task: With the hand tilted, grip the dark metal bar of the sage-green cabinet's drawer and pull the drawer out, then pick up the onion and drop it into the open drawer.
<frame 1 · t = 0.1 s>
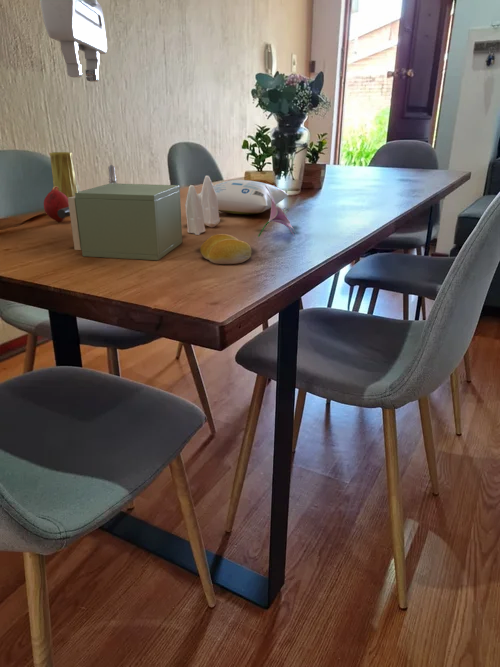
hand: (84, 79, 83), 28 cm above the table, tool pointing down, fingers open, 8 cm apart
onion: (59, 223, 117), on the table
lily: (278, 237, 104), on the table
screw: (116, 226, 115), on the table
shaker set: (204, 230, 111), on the table
cabinet: (135, 249, 94), on the table
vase: (68, 212, 131), on the table
bread roll: (225, 259, 88), on the table
pouch: (242, 213, 131), on the table
drawer: (109, 218, 92), point 5 cm above the table, slide at 0.5 cm
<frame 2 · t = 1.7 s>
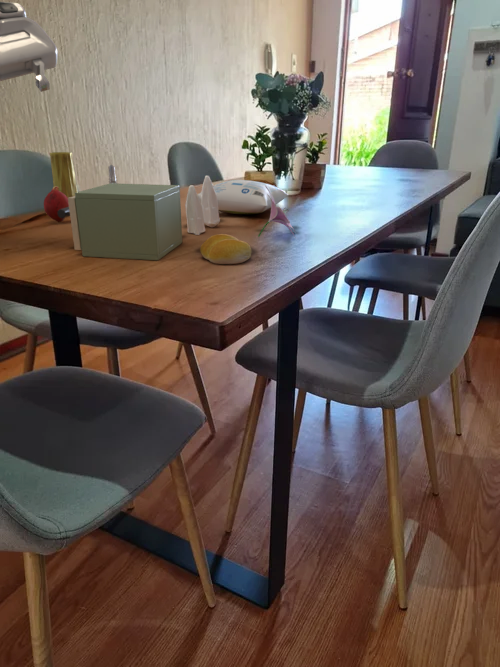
hand: (17, 95, 80), 25 cm above the table, tool tilted 45°, fingers open, 8 cm apart
nothing on the table moved.
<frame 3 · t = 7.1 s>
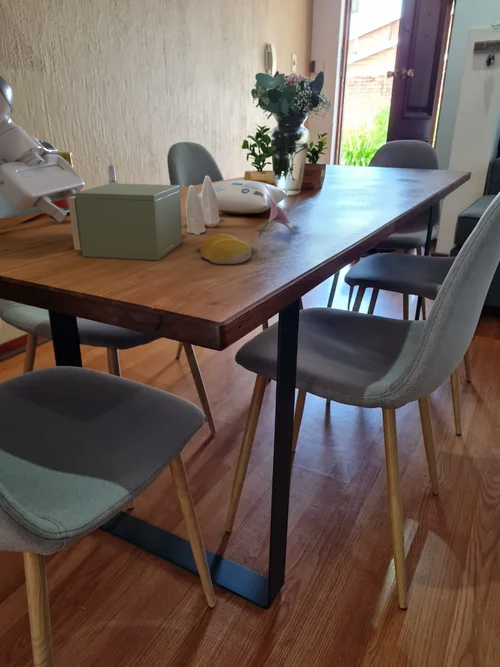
hand: (75, 215, 93), 6 cm above the table, tool tilted 45°, fingers closed on drawer, 6 cm apart
drawer: (109, 218, 92), point 5 cm above the table, slide at 0.5 cm, touching gripper
everything else where it was.
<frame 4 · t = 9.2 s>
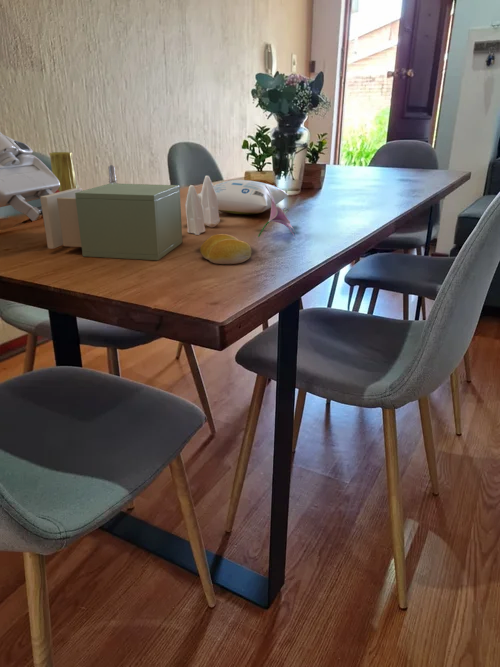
hand: (49, 214, 94), 6 cm above the table, tool tilted 45°, fingers closed on drawer, 6 cm apart
drawer: (83, 217, 93), point 5 cm above the table, slide at 5.6 cm, touching gripper
everything else where it was.
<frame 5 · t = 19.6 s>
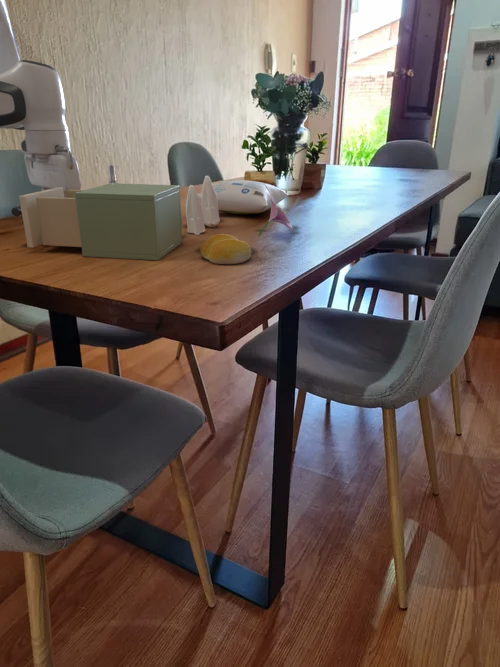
hand: (57, 209, 116), 3 cm above the table, tool pointing down, fingers closed on onion, 6 cm apart
onion: (59, 223, 117), on the table, touching gripper
drawer: (63, 216, 94), point 5 cm above the table, slide at 9.5 cm
everything else where it was.
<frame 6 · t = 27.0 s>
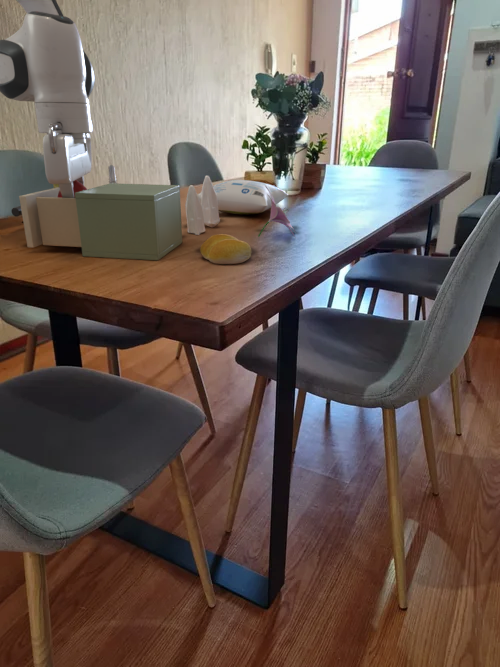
hand: (75, 204, 93), 8 cm above the table, tool pointing down, fingers closed on onion, 6 cm apart
onion: (77, 221, 94), point 5 cm above the table, touching gripper
drawer: (63, 216, 94), point 5 cm above the table, slide at 9.5 cm, touching gripper
everything else where it was.
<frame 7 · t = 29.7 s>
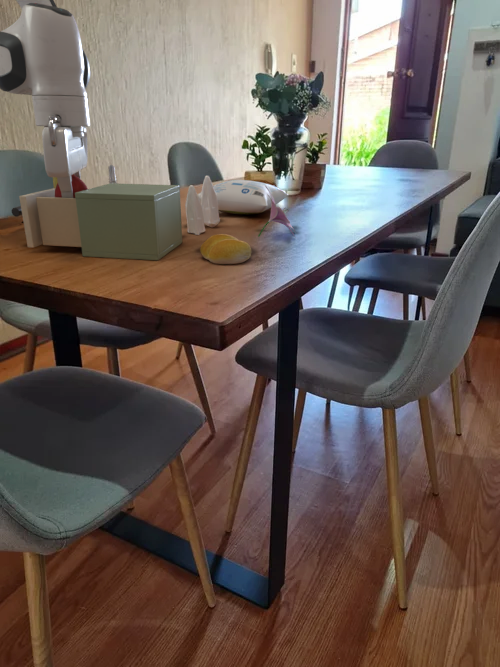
hand: (72, 198, 92), 9 cm above the table, tool pointing down, fingers closed on onion, 6 cm apart
onion: (74, 216, 93), point 6 cm above the table, touching gripper
everything else where it was.
when the fingers open (10 cm above the table, at t = 43.0 s): onion drops 5 cm, resting on drawer.
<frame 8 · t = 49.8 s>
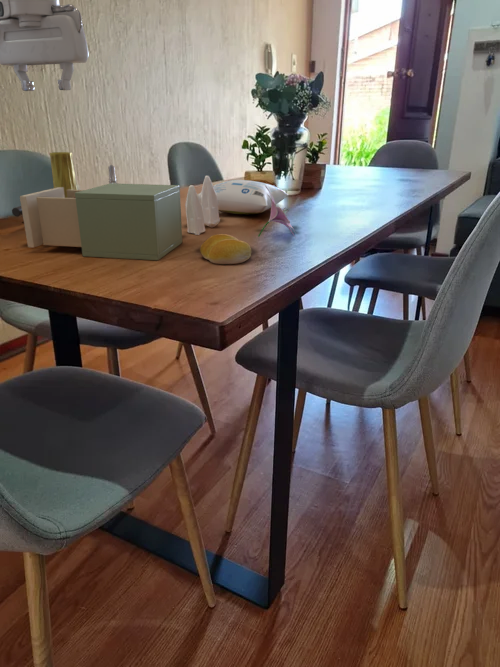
hand: (46, 90, 99), 27 cm above the table, tool pointing down, fingers open, 8 cm apart
onion: (78, 233, 94), point 3 cm above the table, touching drawer
drawer: (64, 216, 94), point 5 cm above the table, slide at 9.4 cm, touching onion
everything else where it was.
at the end: drawer slide at 9.4 cm; onion inside the target area in the drawer (0.7 cm from its centre), point 2.5 cm above the cabinet's base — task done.
